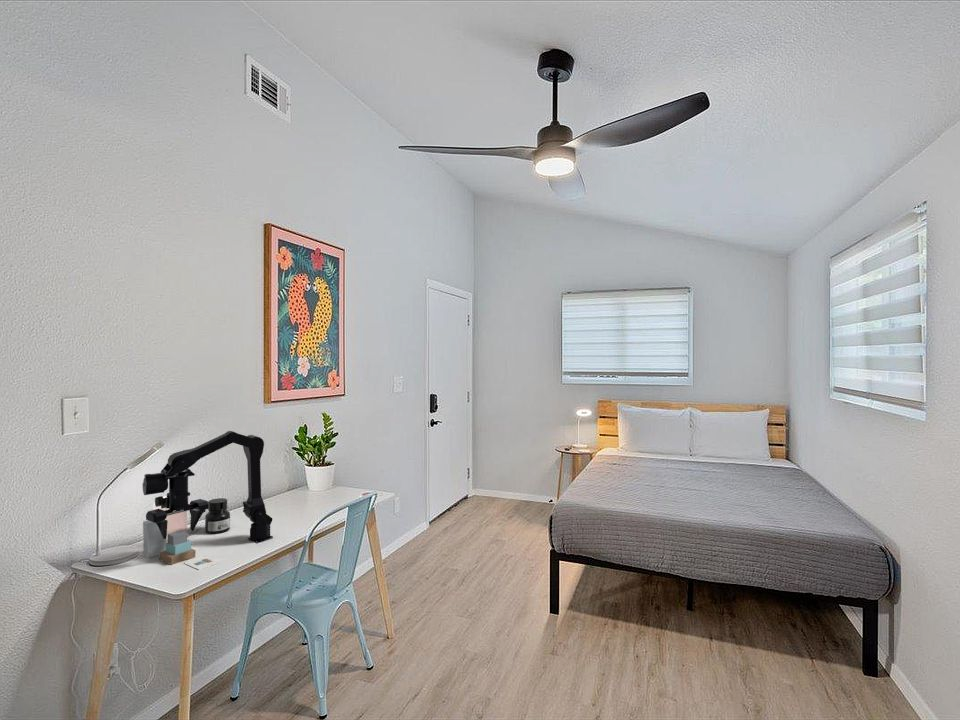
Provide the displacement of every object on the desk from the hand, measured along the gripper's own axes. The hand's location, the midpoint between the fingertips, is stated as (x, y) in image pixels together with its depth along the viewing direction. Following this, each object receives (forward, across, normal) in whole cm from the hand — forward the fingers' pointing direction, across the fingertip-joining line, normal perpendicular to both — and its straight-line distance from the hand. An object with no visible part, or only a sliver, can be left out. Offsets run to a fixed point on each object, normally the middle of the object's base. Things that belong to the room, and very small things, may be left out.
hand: (178, 534), depth 180 cm
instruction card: (+8, -2, +11) cm, 14 cm away
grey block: (+2, 0, 0) cm, 3 cm away
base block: (+8, 0, 0) cm, 9 cm away
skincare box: (+8, +3, -10) cm, 13 cm away
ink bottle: (+8, -23, -15) cm, 29 cm away
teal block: (+6, 0, 0) cm, 6 cm away
